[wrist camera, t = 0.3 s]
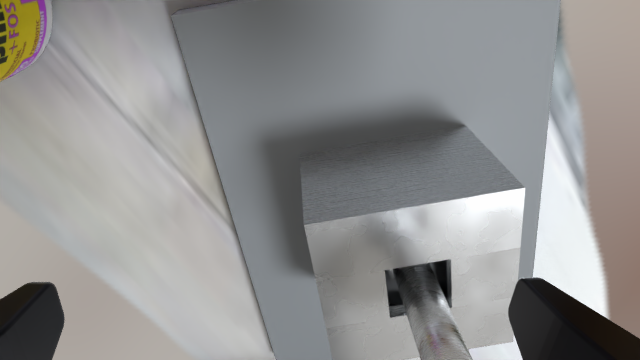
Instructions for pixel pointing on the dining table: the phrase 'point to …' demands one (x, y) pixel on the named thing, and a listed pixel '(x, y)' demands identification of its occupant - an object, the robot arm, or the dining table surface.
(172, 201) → the dining table surface
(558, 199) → the dining table surface
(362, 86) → the board
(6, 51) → the supplement bottle
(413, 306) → the plunger
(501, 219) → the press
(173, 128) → the dining table surface
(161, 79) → the dining table surface
